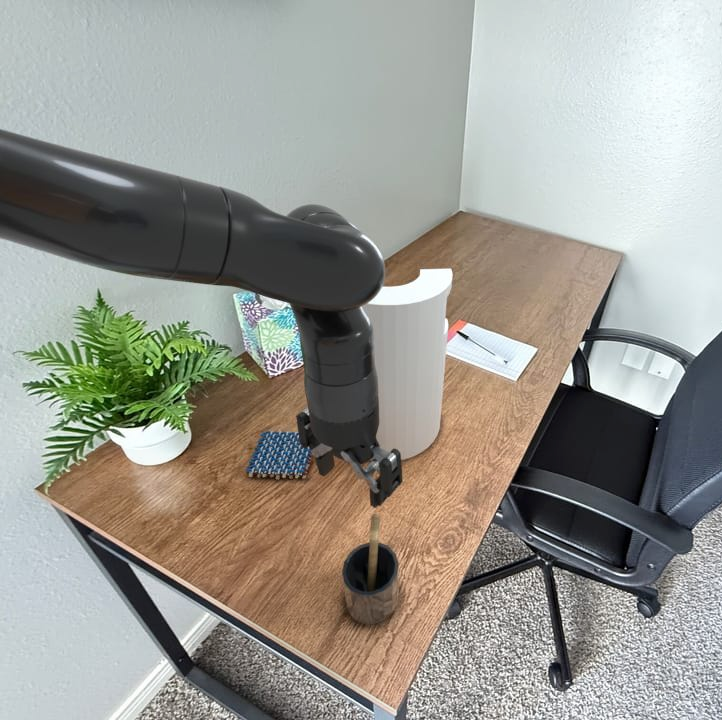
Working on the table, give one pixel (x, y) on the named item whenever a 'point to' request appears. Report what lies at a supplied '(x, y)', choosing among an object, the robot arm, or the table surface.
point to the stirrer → (373, 552)
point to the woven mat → (280, 456)
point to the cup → (355, 575)
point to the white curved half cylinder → (410, 360)
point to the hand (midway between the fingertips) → (352, 486)
